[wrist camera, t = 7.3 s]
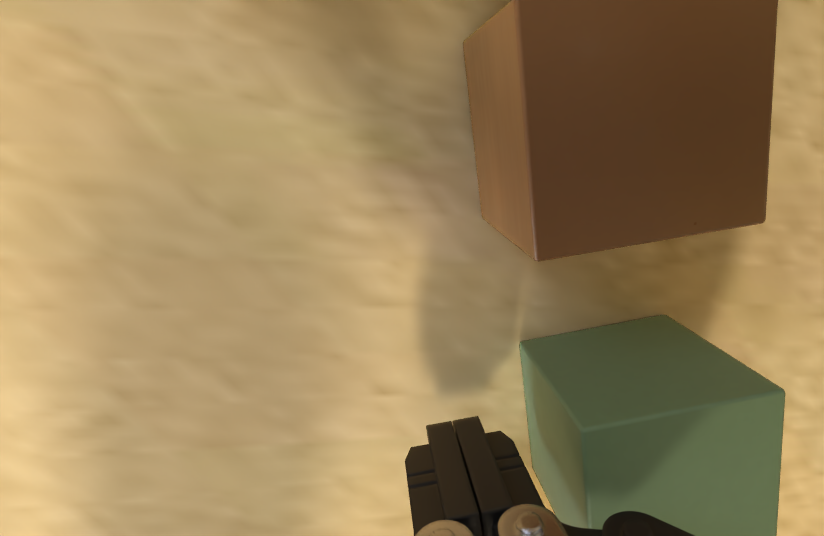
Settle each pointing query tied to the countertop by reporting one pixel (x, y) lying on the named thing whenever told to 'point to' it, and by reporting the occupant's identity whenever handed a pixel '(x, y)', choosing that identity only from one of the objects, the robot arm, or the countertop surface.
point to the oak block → (621, 120)
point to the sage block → (653, 429)
